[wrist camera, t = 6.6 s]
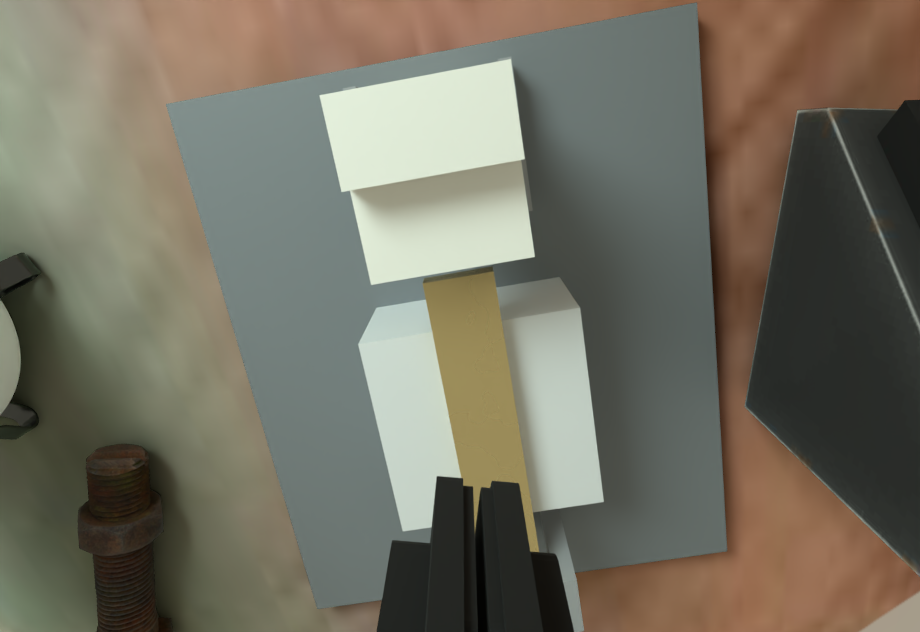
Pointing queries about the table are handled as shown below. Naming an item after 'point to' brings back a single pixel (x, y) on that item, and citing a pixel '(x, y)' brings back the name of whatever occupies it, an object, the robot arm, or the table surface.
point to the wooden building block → (478, 383)
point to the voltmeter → (849, 315)
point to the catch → (433, 170)
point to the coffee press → (13, 348)
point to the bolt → (122, 538)
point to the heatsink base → (577, 231)
